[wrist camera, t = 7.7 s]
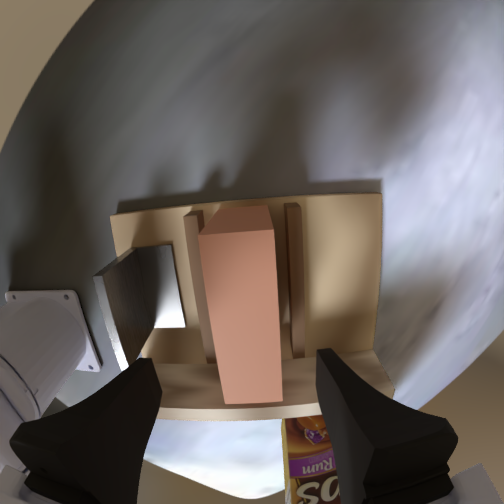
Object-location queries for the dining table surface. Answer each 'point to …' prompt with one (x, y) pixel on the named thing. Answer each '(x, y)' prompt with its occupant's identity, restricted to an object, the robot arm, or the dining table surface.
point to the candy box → (308, 462)
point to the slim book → (243, 302)
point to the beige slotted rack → (289, 300)
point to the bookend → (139, 298)
